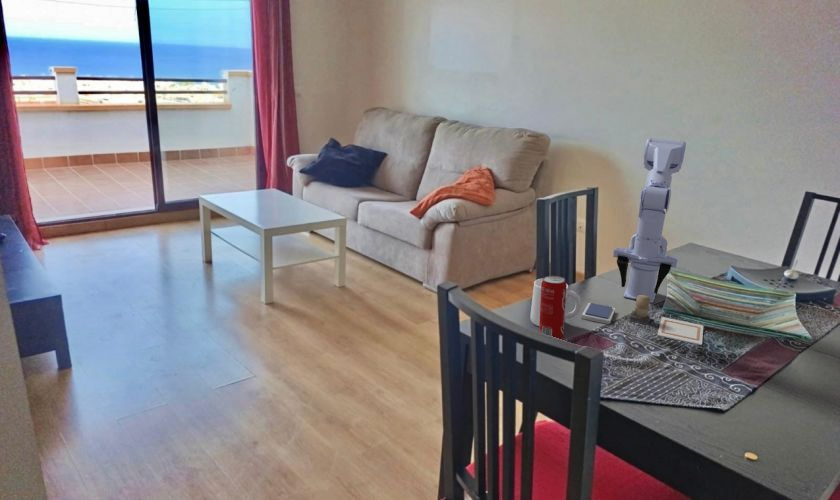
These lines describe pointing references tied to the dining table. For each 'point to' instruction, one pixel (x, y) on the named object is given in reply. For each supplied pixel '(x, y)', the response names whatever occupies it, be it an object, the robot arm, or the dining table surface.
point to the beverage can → (552, 306)
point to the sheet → (681, 331)
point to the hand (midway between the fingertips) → (639, 288)
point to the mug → (537, 297)
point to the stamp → (641, 310)
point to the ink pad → (598, 313)
